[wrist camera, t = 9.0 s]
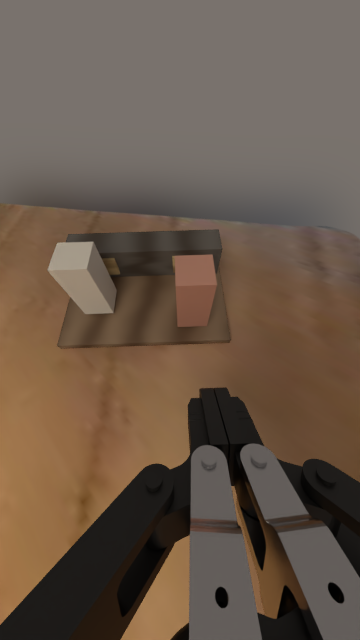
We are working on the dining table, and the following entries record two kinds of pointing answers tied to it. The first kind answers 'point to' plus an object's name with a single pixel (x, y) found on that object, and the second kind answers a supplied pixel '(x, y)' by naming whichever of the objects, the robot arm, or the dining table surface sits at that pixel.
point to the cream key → (83, 276)
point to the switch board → (145, 292)
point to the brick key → (194, 289)
